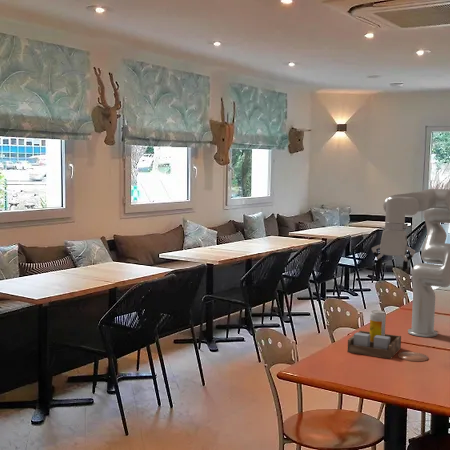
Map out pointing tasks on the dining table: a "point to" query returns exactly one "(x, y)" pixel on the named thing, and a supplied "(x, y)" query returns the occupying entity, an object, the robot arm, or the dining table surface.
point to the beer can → (377, 324)
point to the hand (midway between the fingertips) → (392, 269)
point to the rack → (392, 348)
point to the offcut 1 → (362, 339)
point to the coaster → (413, 356)
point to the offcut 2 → (381, 342)
